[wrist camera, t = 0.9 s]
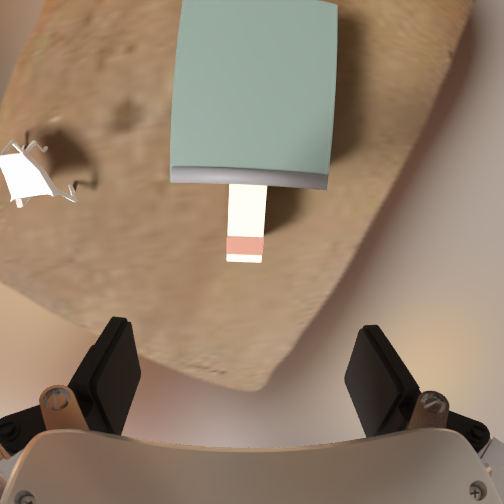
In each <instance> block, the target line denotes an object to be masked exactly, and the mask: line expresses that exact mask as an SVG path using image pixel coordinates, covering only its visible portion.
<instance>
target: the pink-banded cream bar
mask: <svg viewBox="0 0 504 504" xmlns="http://www.w3.org/2000/svg"><path fill="white" fill-rule="evenodd" d="M266 194H267V186H264V185H245V184H230V185H229V209H228V231H227V249H226V254H227V261H234V262H260V263H261V259H262V255H263V242H264V236H263V234H264V221H265V208H266Z"/></svg>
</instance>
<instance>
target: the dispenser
mask: <svg viewBox="0 0 504 504" xmlns="http://www.w3.org/2000/svg"><path fill="white" fill-rule="evenodd" d="M336 67H337V4H333V3H328V2H323V1H318V0H183V3H182V10H181V17H180V25H179V33H178V41H177V50H176V61H175V72H174V84H173V99H172V117H171V143H170V182H172V183H221V184H245V185H264V186H280V187H294V188H306V189H318V190H327V183H328V174H329V165H330V155H331V144H332V132H333V120H334V106H335V89H336Z"/></svg>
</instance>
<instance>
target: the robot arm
mask: <svg viewBox="0 0 504 504" xmlns="http://www.w3.org/2000/svg"><path fill="white" fill-rule="evenodd" d="M140 377H141V369H140V366H139V360H138V356H137V351H136V346H135V341H134V335H133V330H132V325H131V322H128V321H127V319H126V318H122V317H112V318H111V319H110V321H109V323H108V324H107V326H106V327H105V329H104V330H103V332H102V334H101V335H100V337H99V338H98V340H97V342H96V343H95V345H92V346H91V348H90V349H89V351H88V352H87V354H86V356H85V357H84V359H83V361H82V362H81V364H80V365H79V367H78V369H77V371H76V372H75V374H74V376H73V377H72V379H71V381H70V383H69V384H68V386H64V385H53V386H50V387H48V388H47V389H45V390H44V391H43V392H42V394H41V395H40V398H39V403H40V405H37V406H35V407H31V408H29V409H26V410H23V411H20V412H17V413H14V414H11V415H8V416H5V417H3V418H1V419H0V504H504V444H503V443H502V442H501V441H499V440H498V439H496V438H495V437H493V439H490V433H489V430H488V428H487V427H486V426H485V425H484V424H483V423H481V422H479V421H476V420H473V419H470V418H467V417H465V416H462V415H460V414H457V413H454V412H451V411H449V402H448V400H447V399H446V397H445V396H443V395H442V394H440V393H438V392H436V391H425V392H423V393H421V392H420V390H419V388H420V387H419V386H418V384H417V383H416V381H415V380H414V378H413V377H412V375H411V373H410V372H409V370H408V369H407V367H406V366H405V364H404V363H403V362H402V360H401V358H400V357H399V356H398V354H397V352H396V351H395V349H394V348H393V346H392V345H391V343H390V342H389V340H388V339H387V338H386V336H385V335H384V333H383V332H382V330H381V329H380V327H379V326H378V325H365V326H364V327H363V328H362V329H360V330H359V332H358V336H357V339H356V342H355V346H354V349H353V352H352V355H351V358H350V361H349V364H348V367H347V371H346V373H345V378H344V379H345V384H346V386H347V389H348V392H349V394H350V397H351V399H352V402H353V404H354V407H355V409H356V412H357V414H358V417H359V419H360V422H361V424H362V427H363V430H364V432H365V435H366V438H362V439H355V440H350V441H343V442H335V443H328V444H318V445H309V446H295V447H277V448H221V447H204V446H203V447H202V446H191V445H181V444H171V443H164V442H156V441H149V440H142V439H136V438H131V437H125V436H121V433H122V430H123V427H124V424H125V421H126V418H127V415H128V412H129V409H130V406H131V403H132V400H133V398H134V395H135V392H136V389H137V386H138V383H139V380H140Z"/></svg>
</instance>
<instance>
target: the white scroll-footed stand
mask: <svg viewBox="0 0 504 504" xmlns="http://www.w3.org/2000/svg"><path fill="white" fill-rule="evenodd" d="M11 145H13V146H14V147H15V148H16V149H17V150H18V151H19V153H11V154H7V152H8V150H9V148H10V147H11ZM34 146H36V147H37V148H39V149H40V150H41V151H42V152H46V151H47V150H48V146H45V147H44V148H42V147H41V146H40V145H39V144H38V143H37V141H32V142H31V143H30V144H29V145H28V147H27V148H26V150H25V151H24V148H25V146H24V145H23V147H22V149H21V148H20V147H19V146H18V144H17V143H16V142H15V140H14V139H11V141H10V142H9V143H8V144H7V145H6V146H5V147H4V149H3V150H2V151H1V152H0V167H1V169H2V172H3V174H4V176H5V179H6V182H7V185H8V188H9V190H10V193H11V196H12V197H11V201H13V200H16V203H17V206H18V208H19V207H23V206H24V205H25V204H26V203H27V202H28V201H29V200H30V198H31V197H32V196H37V195H44V194H49V195H51V196H53V197H54V196H57V195H61V196H63V197H65V198H67V199H69V200H70V201H72V202H76V203H77V197H76V195H75V189H74V187H73V186H72V184H69V188H70V192H71V195H69V194H67V193H65V192H63V191H61V190H58V189H57V188H56V186H55V185H54V183H53V182H52V180H51V179H50V177H49V176H48V174H47V172H46V171H45V169H44V168H43V167H42V166H41V165H40V164H39V163H38V162H37V161H36V160H34V159H33V158H32V157H31V156H30V155H29V154H28V152H29V151H30V150H31V149H32V148H33V147H34ZM23 197H25V198H23ZM22 198H23V199H22ZM11 201H10V202H11Z"/></svg>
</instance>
